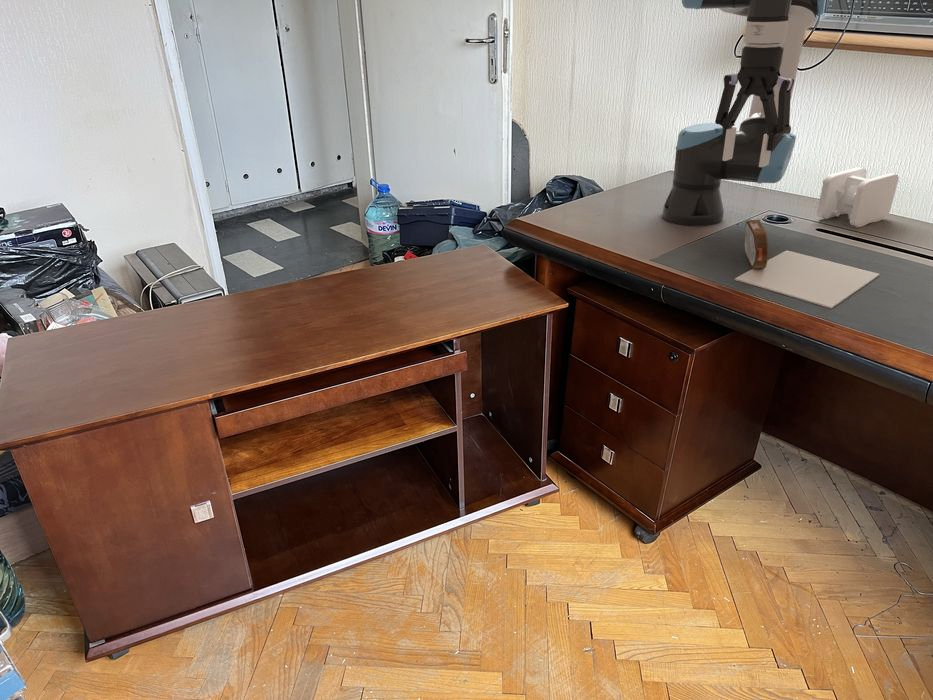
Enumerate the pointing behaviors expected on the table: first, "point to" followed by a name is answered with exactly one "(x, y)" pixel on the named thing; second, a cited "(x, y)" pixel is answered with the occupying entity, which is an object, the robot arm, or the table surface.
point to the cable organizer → (857, 196)
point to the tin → (756, 244)
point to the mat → (808, 278)
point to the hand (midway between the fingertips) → (745, 162)
